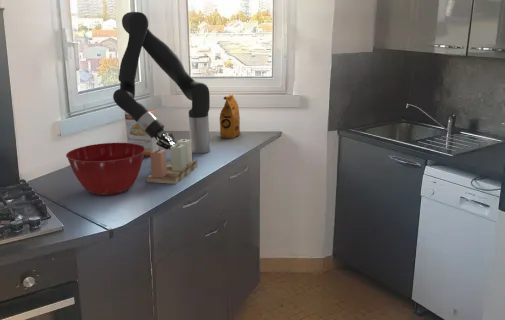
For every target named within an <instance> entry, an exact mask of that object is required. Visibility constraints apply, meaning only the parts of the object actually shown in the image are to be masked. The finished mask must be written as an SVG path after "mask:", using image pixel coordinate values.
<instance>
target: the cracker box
mask: <svg viewBox="0 0 505 320" xmlns="http://www.w3.org/2000/svg"><path fill="white" fill-rule="evenodd" d="M148 111H149V112H150V113H152V114H153V115H154V116H155V117H156V118H157V111H156V110H148ZM124 120H125V121H124V123H125V132H126V143H133V144H138V145H141V146H143V147H144V148H145V151H144V154H143V156H145V157H150V152H152V151H153V150H159V149H160V146H159V145H157V144H156V143H157V140H156V139H155V137H154V138H151V137H150V136H149V135H148V134H147V133H146V132H145V131H144V130H143V129H142V128H141V127H140V126H139V124H138V123H137V122H136V121H135V120H134V119H133V118H132V117H131V116H130V115H129V114H128V113H127V112H125V111H124Z"/></svg>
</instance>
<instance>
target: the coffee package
mask: <svg viewBox="0 0 505 320" xmlns="http://www.w3.org/2000/svg"><path fill="white" fill-rule="evenodd" d="M223 100H224V101H225V102H224V105H223V107H222V109H221V110H220V113H219V128H220V129H219V132H220V135H219V136H220V137H221V138H226V139H235V138H236V137H238V136H240V134H241V123H240V122H241V121H240V108H239V104H238V102H237V100H236V98H235V97H234V96H233V93H229V95H228V96H224V97H223Z"/></svg>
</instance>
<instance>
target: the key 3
mask: <svg viewBox="0 0 505 320" xmlns="http://www.w3.org/2000/svg"><path fill="white" fill-rule="evenodd" d="M166 151H167V149H161V148H159V150H153V151H152V152H150V156H149V158H150V167H151V168H150V169H151V174H152V177H164V176H165V175H167V163H168V162H167V152H166Z"/></svg>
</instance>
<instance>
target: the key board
mask: <svg viewBox="0 0 505 320" xmlns="http://www.w3.org/2000/svg"><path fill="white" fill-rule="evenodd" d="M195 168H196V169H197V168H198V159H195V160H194V161H192V163H190V164H189V165H186V168H185V169H183V170H182V171H172V163H171V160H170V161H168V162H167V175H165V176H164V177H152V173H151V174H149V175H147V176H146V181H147V183H159V184H175V185H177V184H178V183H180V182H181V180H183V179H185V177H187V175H189V174H190V173H192V172H193V171H194V170H195ZM191 171H192V172H191Z"/></svg>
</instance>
